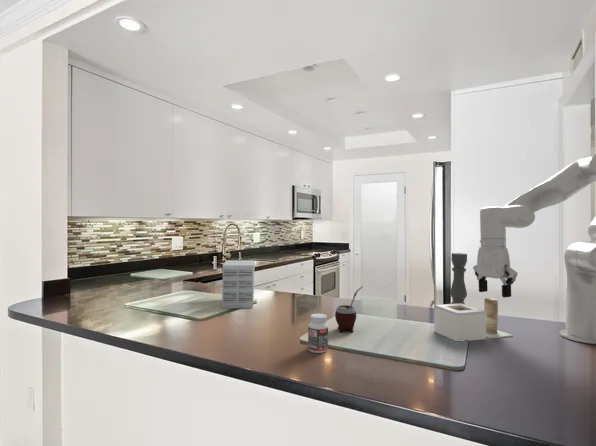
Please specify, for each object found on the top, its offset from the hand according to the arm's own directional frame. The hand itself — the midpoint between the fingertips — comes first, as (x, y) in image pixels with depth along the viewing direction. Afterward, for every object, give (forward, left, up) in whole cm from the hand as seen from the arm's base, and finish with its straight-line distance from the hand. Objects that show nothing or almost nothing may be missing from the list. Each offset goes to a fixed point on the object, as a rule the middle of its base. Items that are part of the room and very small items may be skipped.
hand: (494, 294), depth 123 cm
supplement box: (+77, -62, -14) cm, 100 cm away
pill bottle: (+63, 0, -14) cm, 64 cm away
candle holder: (-3, -20, -14) cm, 25 cm away
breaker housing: (+13, -1, -13) cm, 19 cm away
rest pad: (+1, 0, -13) cm, 13 cm away
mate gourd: (+47, -15, -14) cm, 51 cm away
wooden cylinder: (+1, 0, -13) cm, 13 cm away
